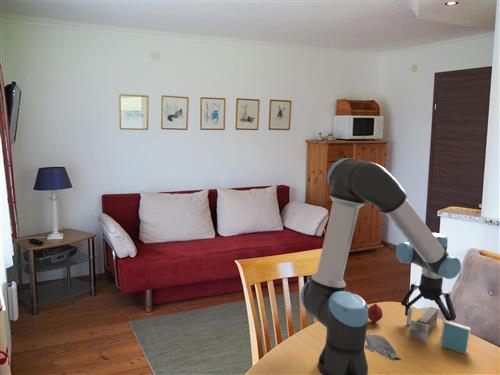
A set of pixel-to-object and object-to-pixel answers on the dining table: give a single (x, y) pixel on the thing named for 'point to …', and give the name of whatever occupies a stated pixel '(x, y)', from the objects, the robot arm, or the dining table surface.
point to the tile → (456, 337)
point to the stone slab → (380, 346)
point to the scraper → (424, 324)
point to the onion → (374, 313)
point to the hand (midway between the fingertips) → (425, 329)
